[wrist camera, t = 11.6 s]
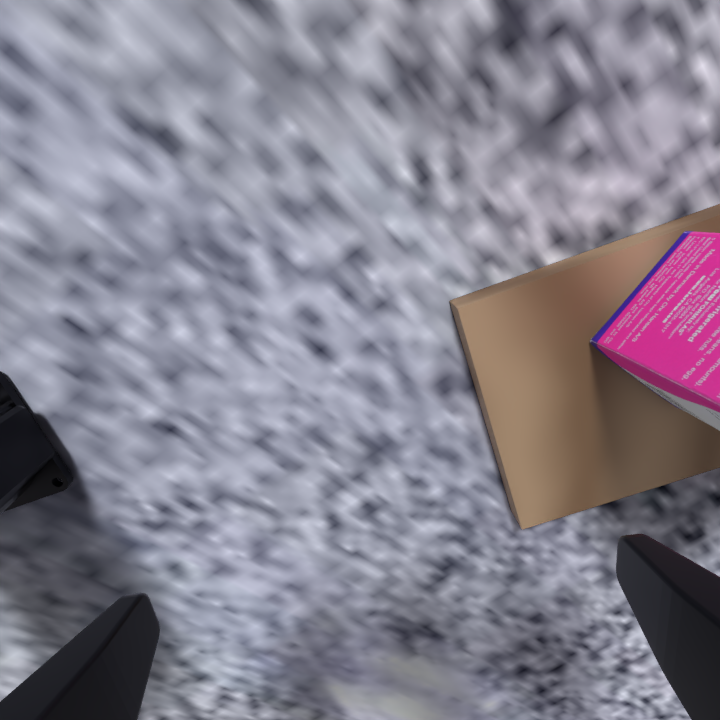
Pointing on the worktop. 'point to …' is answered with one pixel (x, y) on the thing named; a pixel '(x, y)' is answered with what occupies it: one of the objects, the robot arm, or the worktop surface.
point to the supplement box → (674, 328)
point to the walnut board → (577, 383)
